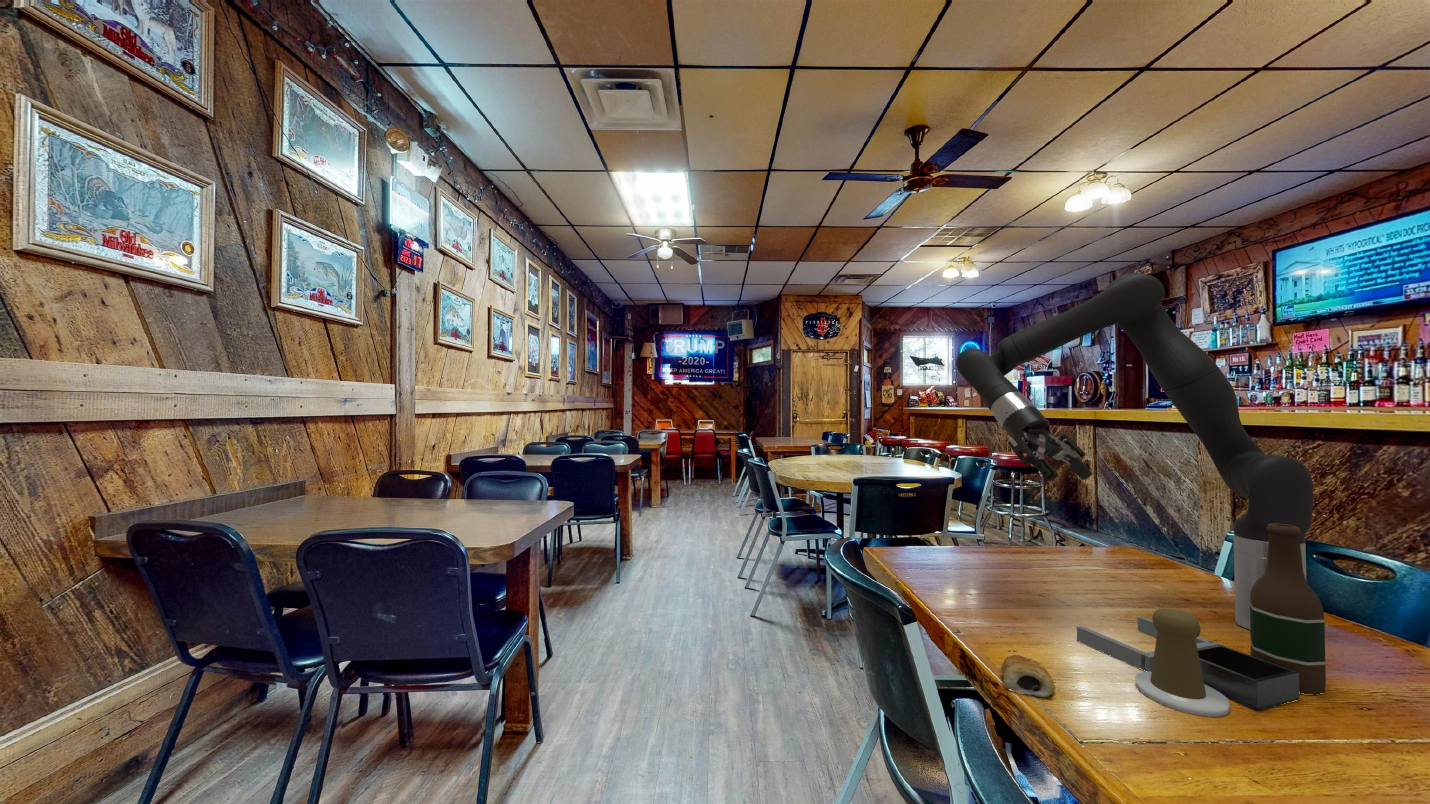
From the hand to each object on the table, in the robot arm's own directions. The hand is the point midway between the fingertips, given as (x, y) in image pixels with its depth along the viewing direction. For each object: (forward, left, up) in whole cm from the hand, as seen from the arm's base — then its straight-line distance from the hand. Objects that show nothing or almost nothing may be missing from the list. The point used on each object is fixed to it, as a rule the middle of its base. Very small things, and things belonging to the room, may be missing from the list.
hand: (1071, 477), depth 96 cm
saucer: (+7, +22, -29) cm, 37 cm away
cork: (+7, +21, -28) cm, 36 cm away
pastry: (+26, +13, -29) cm, 41 cm away
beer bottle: (-13, +24, -29) cm, 39 cm away
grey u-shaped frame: (-4, +10, -29) cm, 30 cm away
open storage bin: (-3, +23, -29) cm, 37 cm away
